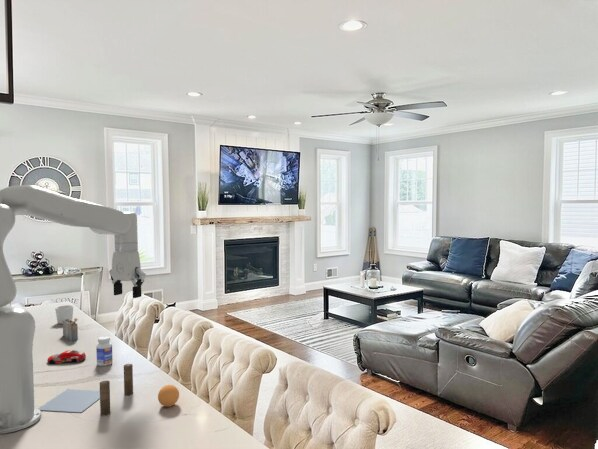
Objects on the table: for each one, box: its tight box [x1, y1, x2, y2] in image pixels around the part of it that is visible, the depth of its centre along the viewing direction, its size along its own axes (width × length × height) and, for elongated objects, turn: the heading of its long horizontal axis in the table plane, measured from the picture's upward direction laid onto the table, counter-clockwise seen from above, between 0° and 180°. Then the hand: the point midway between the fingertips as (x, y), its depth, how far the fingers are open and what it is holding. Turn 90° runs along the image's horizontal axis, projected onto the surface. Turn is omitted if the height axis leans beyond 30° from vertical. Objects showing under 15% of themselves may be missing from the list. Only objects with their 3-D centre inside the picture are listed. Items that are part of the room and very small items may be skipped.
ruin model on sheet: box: [62, 317, 79, 342], centre depth 194 cm, size 11×3×10 cm, turn 45°
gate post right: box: [123, 363, 134, 396], centre depth 136 cm, size 3×3×9 cm
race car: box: [46, 349, 87, 365], centre depth 165 cm, size 13×5×4 cm, turn 97°
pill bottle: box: [95, 336, 114, 367], centre depth 162 cm, size 5×5×10 cm
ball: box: [157, 384, 180, 407], centre depth 128 cm, size 6×6×6 cm
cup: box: [54, 304, 74, 325], centre depth 220 cm, size 11×8×8 cm
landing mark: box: [37, 388, 100, 414], centre depth 132 cm, size 14×14×1 cm
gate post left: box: [99, 380, 111, 417], centre depth 123 cm, size 3×3×9 cm
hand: (127, 296), depth 152 cm, fingers open, 9 cm apart
